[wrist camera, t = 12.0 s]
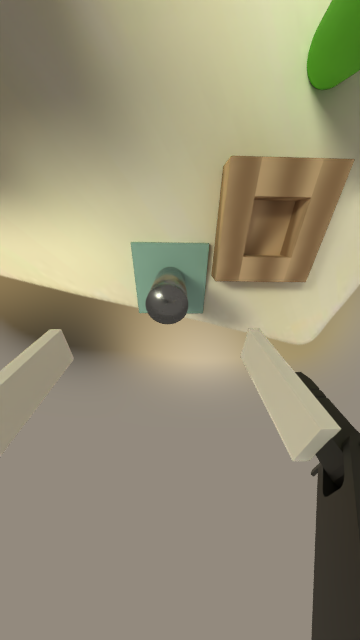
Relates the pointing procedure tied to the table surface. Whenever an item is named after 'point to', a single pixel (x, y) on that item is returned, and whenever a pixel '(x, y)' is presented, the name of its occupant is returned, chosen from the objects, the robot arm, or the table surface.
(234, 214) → the socket block
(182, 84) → the table surface
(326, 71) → the cup
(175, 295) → the gray metal can
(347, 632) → the robot arm
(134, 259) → the mat
